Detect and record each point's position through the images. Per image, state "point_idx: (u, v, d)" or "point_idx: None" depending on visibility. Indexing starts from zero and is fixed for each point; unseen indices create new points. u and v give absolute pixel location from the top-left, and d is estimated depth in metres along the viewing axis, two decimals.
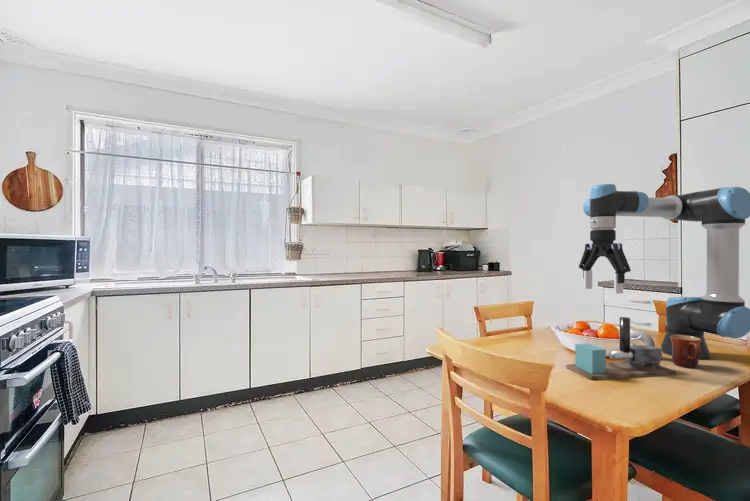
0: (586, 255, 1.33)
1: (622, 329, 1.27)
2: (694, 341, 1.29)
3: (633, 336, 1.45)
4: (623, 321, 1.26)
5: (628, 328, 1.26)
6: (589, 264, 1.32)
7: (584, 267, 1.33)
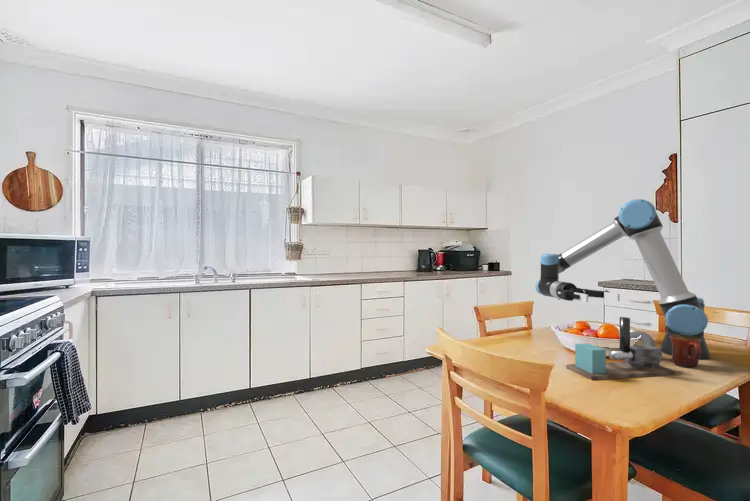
0: None
1: (622, 329, 1.27)
2: (694, 341, 1.29)
3: (633, 336, 1.45)
4: (623, 321, 1.26)
5: (628, 328, 1.26)
6: (597, 295, 1.47)
7: (603, 297, 1.46)
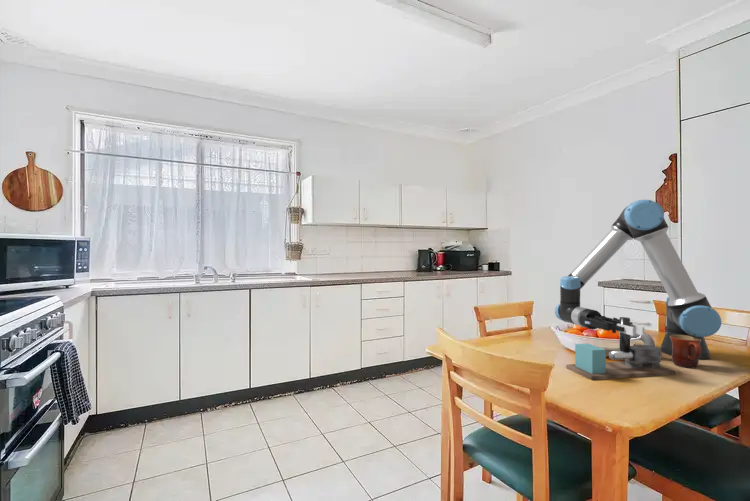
0: None
1: None
2: (694, 341, 1.29)
3: (633, 336, 1.44)
4: (623, 321, 1.26)
5: None
6: None
7: None
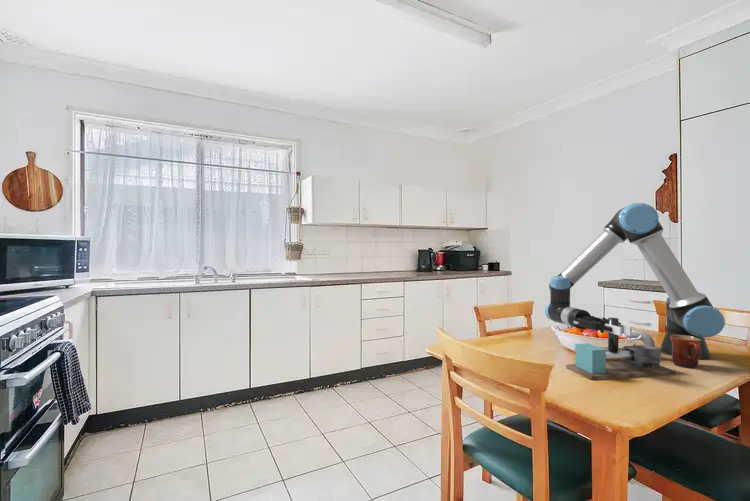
0: None
1: None
2: (694, 341, 1.29)
3: (633, 336, 1.44)
4: (611, 321, 1.26)
5: None
6: None
7: None
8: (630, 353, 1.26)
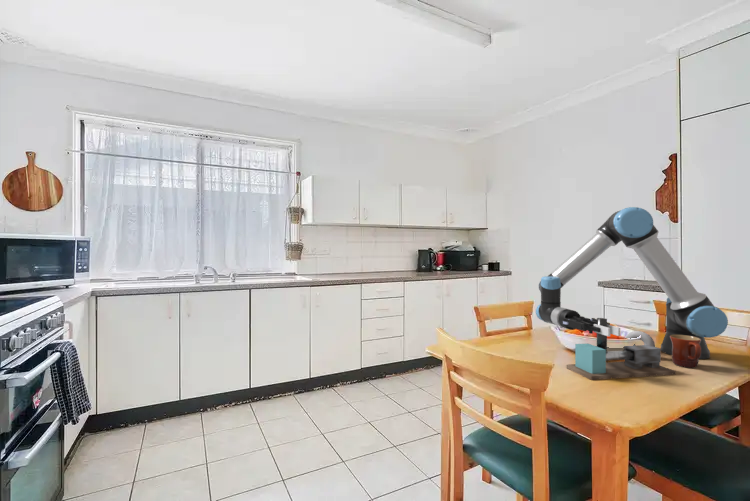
0: None
1: None
2: (694, 341, 1.29)
3: (633, 336, 1.44)
4: (600, 322, 1.25)
5: None
6: None
7: None
8: (619, 354, 1.26)
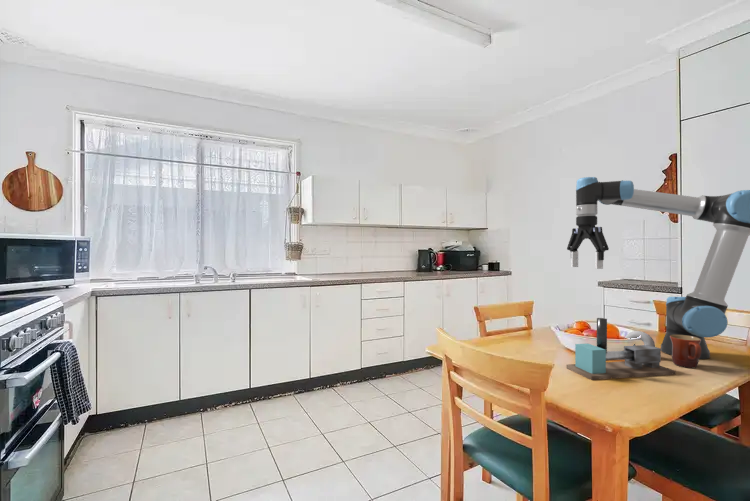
0: (573, 238, 1.56)
1: (599, 330, 1.25)
2: (694, 341, 1.29)
3: (633, 336, 1.44)
4: (600, 322, 1.25)
5: (605, 329, 1.24)
6: (575, 246, 1.55)
7: (571, 248, 1.56)
8: (619, 354, 1.26)
